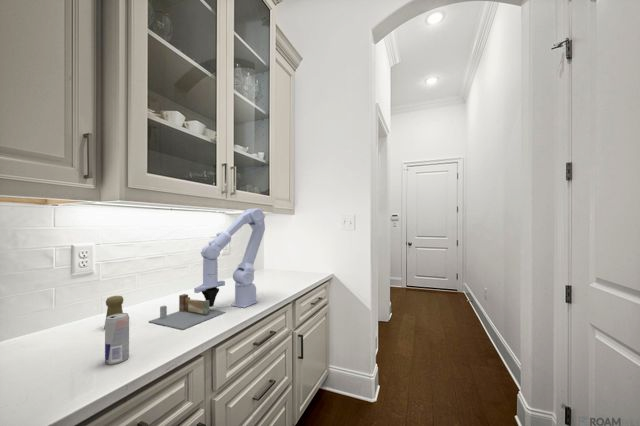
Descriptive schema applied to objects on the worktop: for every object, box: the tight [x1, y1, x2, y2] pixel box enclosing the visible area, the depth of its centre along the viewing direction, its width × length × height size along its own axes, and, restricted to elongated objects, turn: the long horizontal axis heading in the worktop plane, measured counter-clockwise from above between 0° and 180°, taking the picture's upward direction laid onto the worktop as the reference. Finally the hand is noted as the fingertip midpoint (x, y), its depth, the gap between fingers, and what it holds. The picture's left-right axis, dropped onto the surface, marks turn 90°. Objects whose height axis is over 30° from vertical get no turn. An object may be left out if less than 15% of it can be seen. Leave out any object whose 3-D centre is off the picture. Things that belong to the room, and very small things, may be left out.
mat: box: [148, 308, 226, 331], centre depth 110 cm, size 20×19×1 cm
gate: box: [185, 296, 210, 314], centre depth 114 cm, size 2×12×5 cm, turn 64°
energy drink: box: [104, 312, 130, 365], centre depth 77 cm, size 5×5×12 cm
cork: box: [103, 295, 124, 330], centre depth 101 cm, size 6×6×11 cm
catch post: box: [159, 305, 168, 319], centre depth 109 cm, size 2×2×5 cm
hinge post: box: [178, 293, 189, 312], centre depth 117 cm, size 2×2×7 cm
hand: (210, 306), depth 117 cm, fingers closed
